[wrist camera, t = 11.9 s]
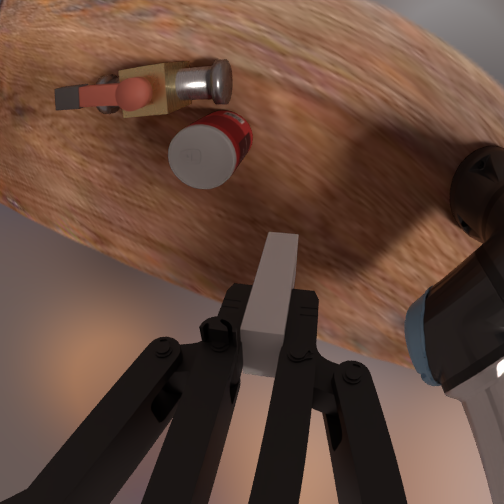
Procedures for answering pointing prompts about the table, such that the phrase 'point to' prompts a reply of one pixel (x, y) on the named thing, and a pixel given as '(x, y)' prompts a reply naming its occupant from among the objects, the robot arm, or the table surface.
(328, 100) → the table surface
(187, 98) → the valve pipe
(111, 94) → the lever
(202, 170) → the canned food
